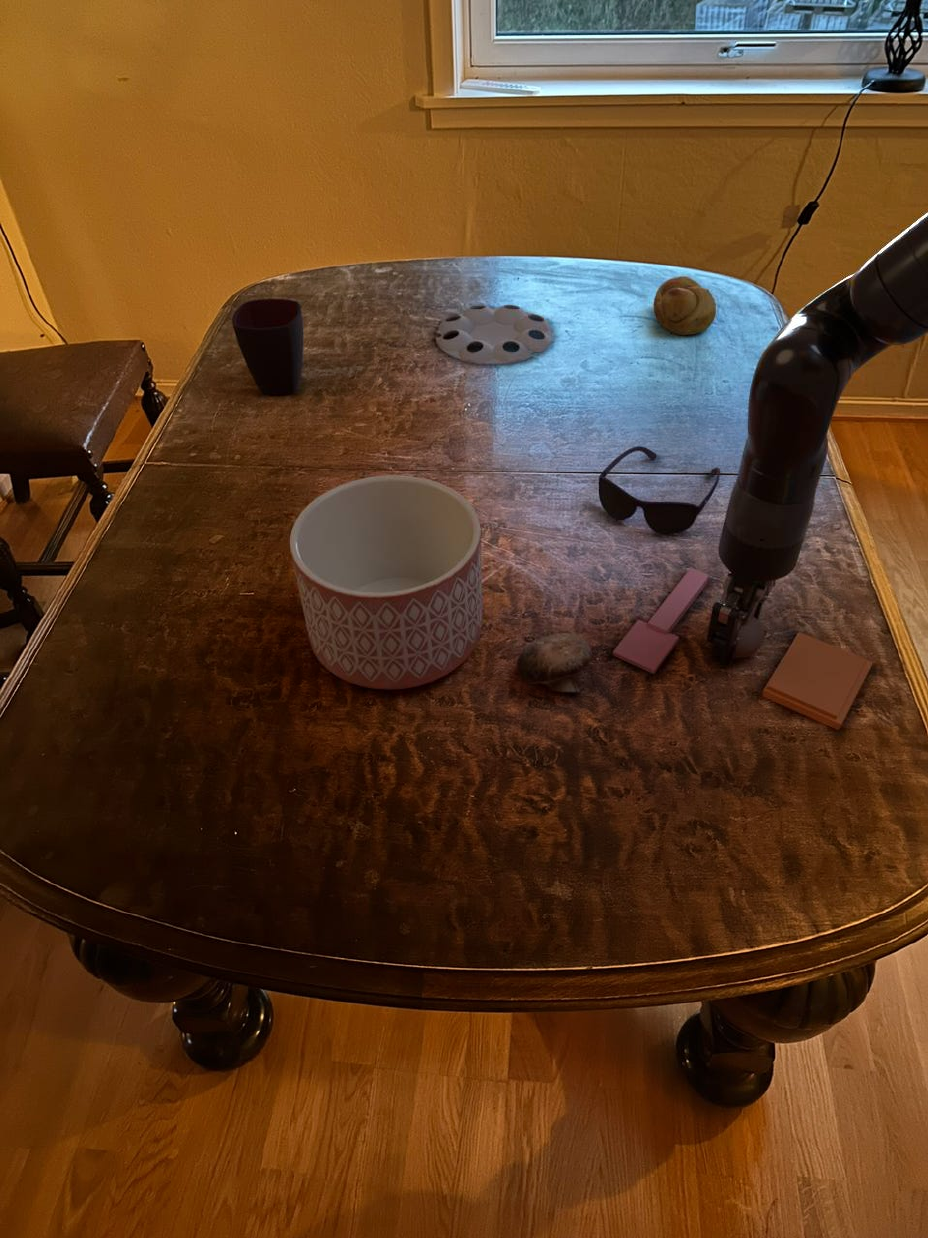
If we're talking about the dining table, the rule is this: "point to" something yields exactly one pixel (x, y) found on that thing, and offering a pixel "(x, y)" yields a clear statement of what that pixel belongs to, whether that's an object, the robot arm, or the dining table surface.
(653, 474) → the dining table surface
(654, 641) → the spatula
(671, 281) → the bread roll
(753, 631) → the egg
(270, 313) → the cup
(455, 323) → the paint palette
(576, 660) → the mushroom
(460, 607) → the planter
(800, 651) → the brown flat block
